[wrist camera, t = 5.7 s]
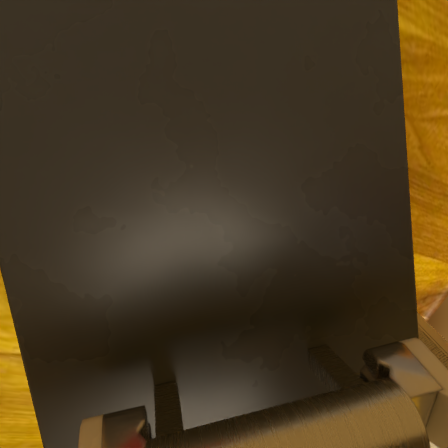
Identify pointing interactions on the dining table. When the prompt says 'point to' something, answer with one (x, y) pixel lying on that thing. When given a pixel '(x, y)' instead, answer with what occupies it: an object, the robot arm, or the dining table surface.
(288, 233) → the bin lid
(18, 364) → the dining table surface
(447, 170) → the dining table surface
